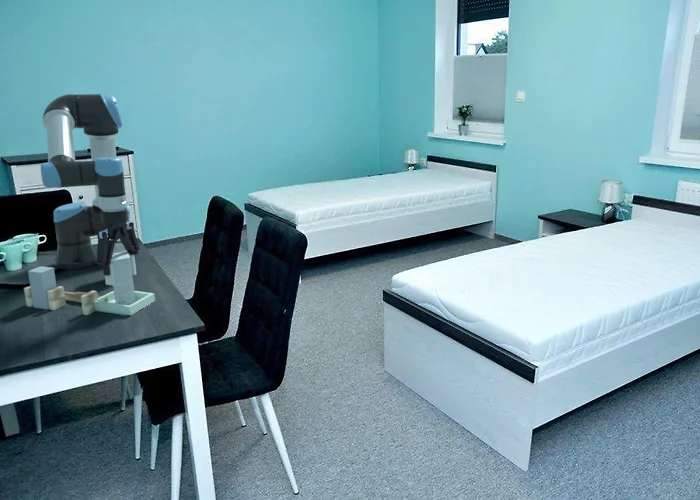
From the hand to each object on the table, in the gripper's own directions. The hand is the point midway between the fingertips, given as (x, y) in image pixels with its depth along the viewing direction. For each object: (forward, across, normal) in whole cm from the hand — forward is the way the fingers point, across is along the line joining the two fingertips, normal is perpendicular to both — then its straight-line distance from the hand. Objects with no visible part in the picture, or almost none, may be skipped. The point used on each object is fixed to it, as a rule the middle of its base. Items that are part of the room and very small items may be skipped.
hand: (121, 279), depth 174 cm
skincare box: (+7, 0, 0) cm, 7 cm away
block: (+9, -7, +24) cm, 26 cm away
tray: (+9, 0, 0) cm, 9 cm away
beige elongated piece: (+9, -5, +17) cm, 20 cm away
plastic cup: (+9, +21, +19) cm, 30 cm away
